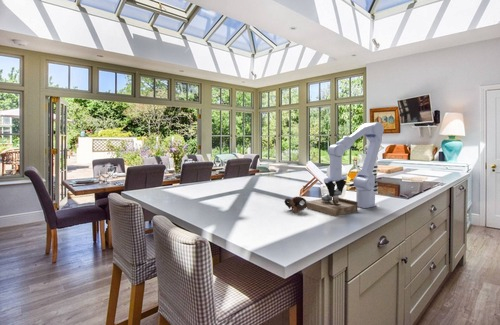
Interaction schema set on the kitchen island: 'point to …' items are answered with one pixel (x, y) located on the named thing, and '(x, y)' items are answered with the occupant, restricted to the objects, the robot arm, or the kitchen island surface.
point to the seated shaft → (326, 198)
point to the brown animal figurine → (295, 204)
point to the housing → (333, 206)
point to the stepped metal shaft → (336, 195)
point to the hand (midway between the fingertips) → (335, 195)
